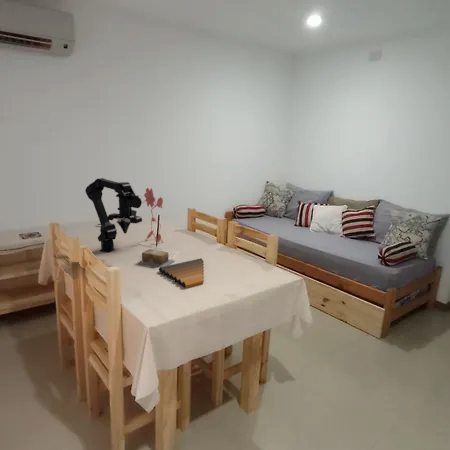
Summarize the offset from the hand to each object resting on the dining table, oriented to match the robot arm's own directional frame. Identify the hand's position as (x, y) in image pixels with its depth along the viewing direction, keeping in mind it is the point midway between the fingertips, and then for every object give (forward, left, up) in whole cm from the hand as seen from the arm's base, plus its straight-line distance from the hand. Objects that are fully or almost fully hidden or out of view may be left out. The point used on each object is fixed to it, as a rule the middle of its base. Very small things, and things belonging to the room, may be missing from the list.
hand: (125, 233), depth 200 cm
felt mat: (+22, -2, -13) cm, 26 cm away
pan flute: (+46, -9, -14) cm, 49 cm away
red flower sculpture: (-2, +28, -13) cm, 31 cm away
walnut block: (+14, -2, -10) cm, 18 cm away
